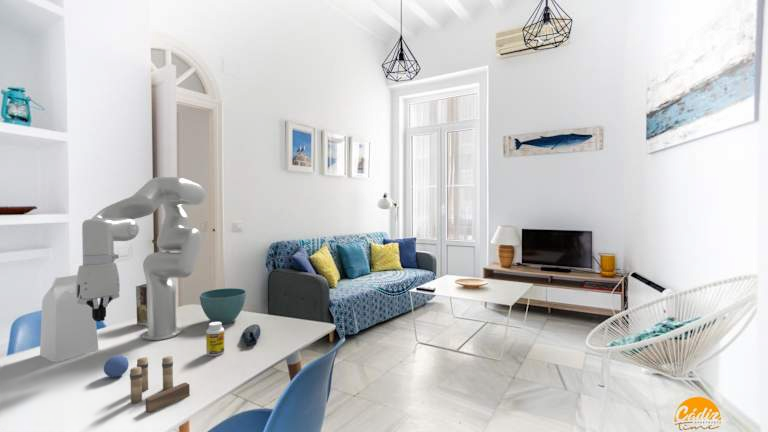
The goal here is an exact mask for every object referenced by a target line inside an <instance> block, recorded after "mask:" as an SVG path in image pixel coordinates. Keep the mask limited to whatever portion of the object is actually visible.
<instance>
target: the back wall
mask: <svg viewBox="0 0 768 432" xmlns="http://www.w3.org/2000/svg"><path fill="white" fill-rule="evenodd" d="M190 392H191V391H190V383H188V382H183V383H180V384H178V385H174V386H173V388H170V389H168V390H165V391H164V390H162V391H161V392H159V393H155V394H153V395H151V396H149V397H146V398H145V400H144V401H145V411H146V412H147V413H149V414H151V413H154V412H156V411H158V410H160V409H162V408H164V407H167V406H169V405H171V404H172V405H173V404H174V403H176V402H179V401H181V400H182V399H185V398H187V397H189V396H190V395H191V394H190Z"/></svg>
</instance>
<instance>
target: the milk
mask: <svg viewBox="0 0 768 432" xmlns="http://www.w3.org/2000/svg"><path fill="white" fill-rule="evenodd" d="M76 281H77V274H71V275H64V276H63V275H62V276H57V277H55V279H54V281H53V282H52V285H51V287H50V288H49V289H48V291H46V293H45V295H44V296H43V298H42V300H41V301H42V302H41V317H40V318H41V322H40V323H41V324H40V342H39V343H40V345H39V356H41V357H43V358H45V359H46V360H49V361H51V362H53V363H58V362H63V361H65V360H69V359H73V358H76V357H79V356H83V355H86V354H89V353H92V352H96V351H99V341H98V330H97V329H98V328H97V321H94V319H93V318H92V308H91V307H90V306H89V305H87V304H77V300H78V298H77V297H76Z"/></svg>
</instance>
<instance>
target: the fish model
mask: <svg viewBox="0 0 768 432" xmlns="http://www.w3.org/2000/svg"><path fill="white" fill-rule="evenodd" d="M260 336H261V327H260V325H259V324H257V323H256V324H250V325H249V326H247V327H245V329H243V331H242V333H241V337H242V339H243V340H244V342H245V343H244V344H246V345H247V346H252V345H254V344H256V342H257V341H258V340H259V338H260Z"/></svg>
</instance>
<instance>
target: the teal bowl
mask: <svg viewBox="0 0 768 432" xmlns="http://www.w3.org/2000/svg"><path fill="white" fill-rule="evenodd" d="M246 296H247V290H245V289H243V288H234V287H232V288H231V287H229V288H227V287H226V288H218V289H217V288H216V289H211V290H206V291H203V292H201V293H199V302H200V305H201V308H202V311H203V312H204V314H205V316H206V318H208V319H209V321H210V322H211V323H212V322H221V323H222V325H226V324H227V325H228V324H230V323H232V322H234V321H235V320H236V319H237V318H238V316H239V315H240V314H241V312H242V310H243V309H244V305H245V301H246Z"/></svg>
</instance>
